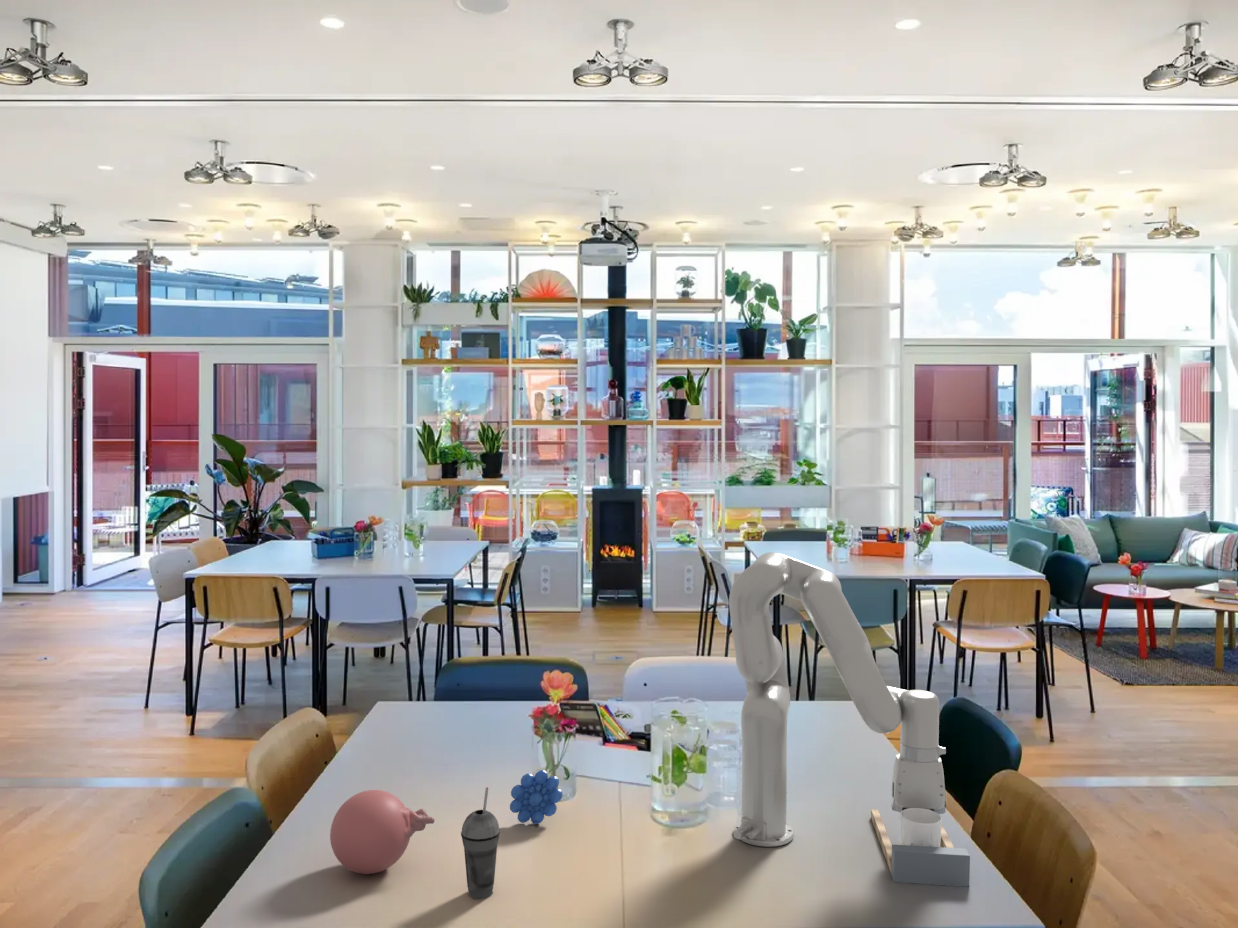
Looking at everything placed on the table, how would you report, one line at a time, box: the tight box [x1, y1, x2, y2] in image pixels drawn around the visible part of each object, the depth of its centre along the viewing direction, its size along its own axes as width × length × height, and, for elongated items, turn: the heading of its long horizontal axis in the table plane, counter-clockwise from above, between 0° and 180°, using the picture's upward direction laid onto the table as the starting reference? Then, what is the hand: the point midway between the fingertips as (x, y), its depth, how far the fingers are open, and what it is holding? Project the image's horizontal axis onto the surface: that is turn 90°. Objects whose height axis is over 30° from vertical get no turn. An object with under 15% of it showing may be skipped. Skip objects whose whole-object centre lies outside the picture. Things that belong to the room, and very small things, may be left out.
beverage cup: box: [460, 787, 501, 900], centre depth 174 cm, size 7×7×20 cm
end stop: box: [890, 843, 971, 887], centre depth 180 cm, size 3×14×6 cm, turn 83°
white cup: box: [899, 808, 943, 847], centre depth 186 cm, size 8×8×10 cm
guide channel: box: [870, 808, 955, 873], centre depth 195 cm, size 27×14×2 cm, turn 173°
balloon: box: [329, 789, 435, 875], centre depth 183 cm, size 15×20×15 cm
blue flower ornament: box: [509, 769, 564, 825], centre depth 206 cm, size 12×7×12 cm, turn 89°
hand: (917, 839), depth 192 cm, fingers closed
